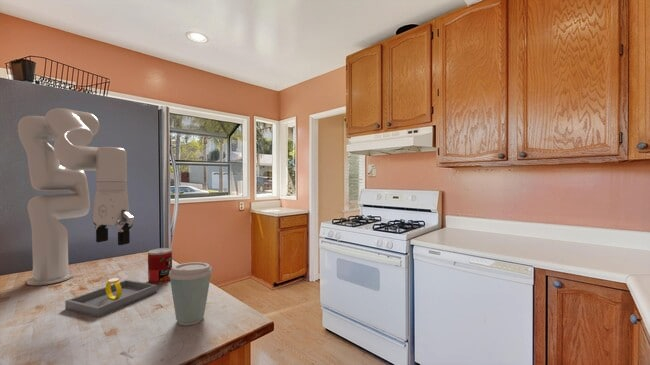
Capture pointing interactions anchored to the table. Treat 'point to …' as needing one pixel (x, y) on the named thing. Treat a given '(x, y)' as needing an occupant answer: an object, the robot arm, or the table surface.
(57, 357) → the table surface
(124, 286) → the tray
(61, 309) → the table surface
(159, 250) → the canned food
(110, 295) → the watch
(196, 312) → the disposable coffee cup
